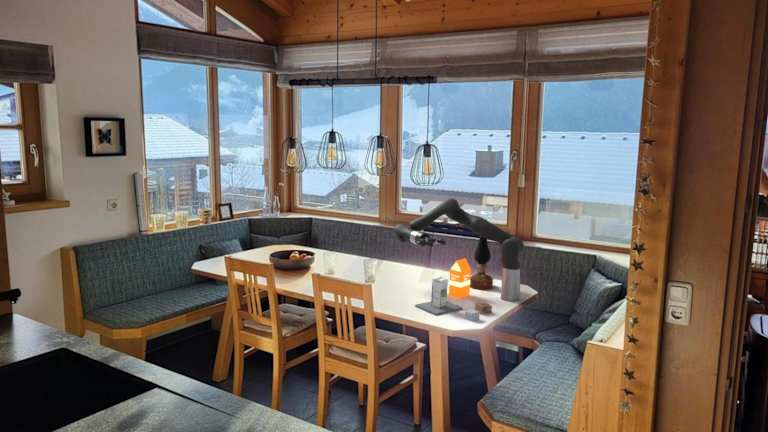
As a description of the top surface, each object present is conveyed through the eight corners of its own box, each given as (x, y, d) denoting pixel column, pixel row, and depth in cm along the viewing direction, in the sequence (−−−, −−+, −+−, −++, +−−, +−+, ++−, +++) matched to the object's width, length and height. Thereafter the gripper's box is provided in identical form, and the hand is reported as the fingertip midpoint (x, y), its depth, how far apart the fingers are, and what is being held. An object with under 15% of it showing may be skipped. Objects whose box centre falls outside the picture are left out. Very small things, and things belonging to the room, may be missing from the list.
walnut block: (485, 309, 301) (485, 302, 301) (491, 313, 296) (491, 305, 295) (475, 310, 299) (475, 303, 299) (480, 314, 294) (481, 306, 293)
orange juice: (448, 295, 324) (450, 259, 320) (458, 291, 330) (459, 256, 327) (460, 298, 319) (462, 262, 315) (469, 295, 325) (471, 259, 322)
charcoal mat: (441, 300, 313) (442, 299, 313) (462, 309, 301) (462, 307, 300) (415, 306, 303) (415, 304, 303) (435, 315, 290) (435, 313, 290)
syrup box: (437, 303, 306) (438, 276, 303) (446, 306, 302) (448, 278, 300) (430, 305, 302) (431, 278, 299) (440, 308, 298) (441, 280, 295)
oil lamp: (467, 288, 349) (457, 221, 347) (493, 284, 349) (482, 217, 347) (471, 293, 335) (460, 223, 333) (498, 288, 335) (487, 218, 333)
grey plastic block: (471, 316, 290) (471, 308, 290) (479, 319, 286) (479, 311, 286) (464, 318, 287) (464, 310, 286) (471, 321, 283) (472, 313, 283)
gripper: (409, 232, 320) (428, 238, 307) (430, 230, 328) (449, 235, 315) (409, 246, 321) (428, 252, 308) (429, 243, 329) (449, 249, 316)
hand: (439, 243), depth 312 cm, fingers open, 8 cm apart
